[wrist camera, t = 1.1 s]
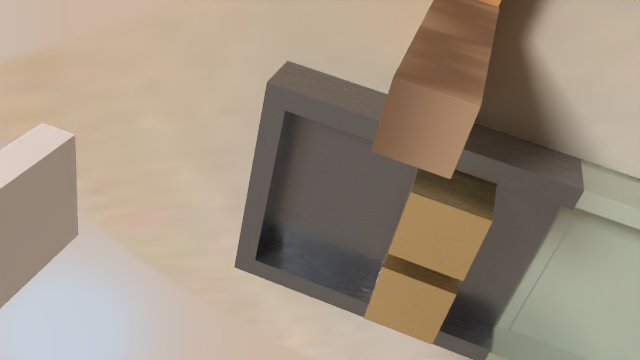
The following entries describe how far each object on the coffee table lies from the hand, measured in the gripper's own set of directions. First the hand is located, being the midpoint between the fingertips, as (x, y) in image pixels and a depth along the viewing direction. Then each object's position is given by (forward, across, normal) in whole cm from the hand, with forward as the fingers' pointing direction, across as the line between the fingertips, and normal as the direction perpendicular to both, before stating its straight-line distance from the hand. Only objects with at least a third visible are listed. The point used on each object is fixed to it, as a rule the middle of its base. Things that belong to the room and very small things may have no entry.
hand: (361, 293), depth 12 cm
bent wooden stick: (+20, 0, 0) cm, 20 cm away
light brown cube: (+19, +3, -9) cm, 22 cm away
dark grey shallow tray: (+20, 0, -12) cm, 24 cm away
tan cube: (+19, +3, -14) cm, 24 cm away
